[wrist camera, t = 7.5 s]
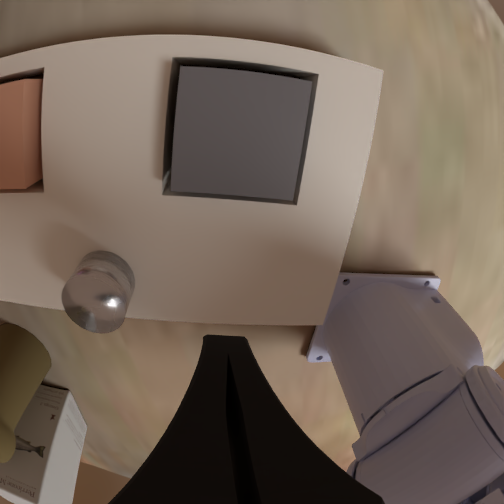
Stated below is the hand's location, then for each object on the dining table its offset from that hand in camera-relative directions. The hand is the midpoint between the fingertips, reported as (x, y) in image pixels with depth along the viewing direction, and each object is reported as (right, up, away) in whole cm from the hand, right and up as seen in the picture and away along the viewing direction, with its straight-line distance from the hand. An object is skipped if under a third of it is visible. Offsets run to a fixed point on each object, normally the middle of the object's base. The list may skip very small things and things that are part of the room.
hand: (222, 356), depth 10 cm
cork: (-19, -5, +10) cm, 22 cm away
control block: (-6, +8, +5) cm, 11 cm away
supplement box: (-20, -12, +14) cm, 27 cm away
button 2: (-12, +11, +3) cm, 16 cm away
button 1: (0, +10, +5) cm, 11 cm away
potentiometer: (-6, +2, +4) cm, 8 cm away
